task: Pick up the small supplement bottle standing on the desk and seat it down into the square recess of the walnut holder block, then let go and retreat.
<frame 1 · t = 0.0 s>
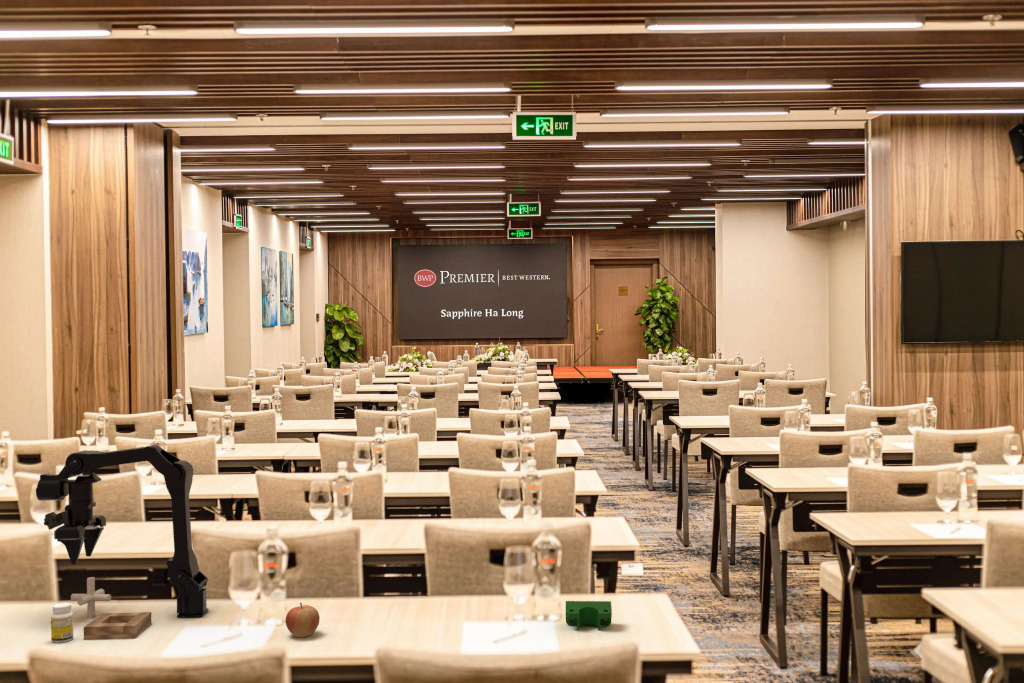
hand: (81, 560, 248), 15 cm above the table, fingers open, 9 cm apart
holder: (118, 631, 235), on the table
pipe connector: (91, 617, 248), on the table
clamp: (588, 628, 234), on the table
apple: (302, 636, 230), on the table
supplement bottle: (62, 641, 228), on the table
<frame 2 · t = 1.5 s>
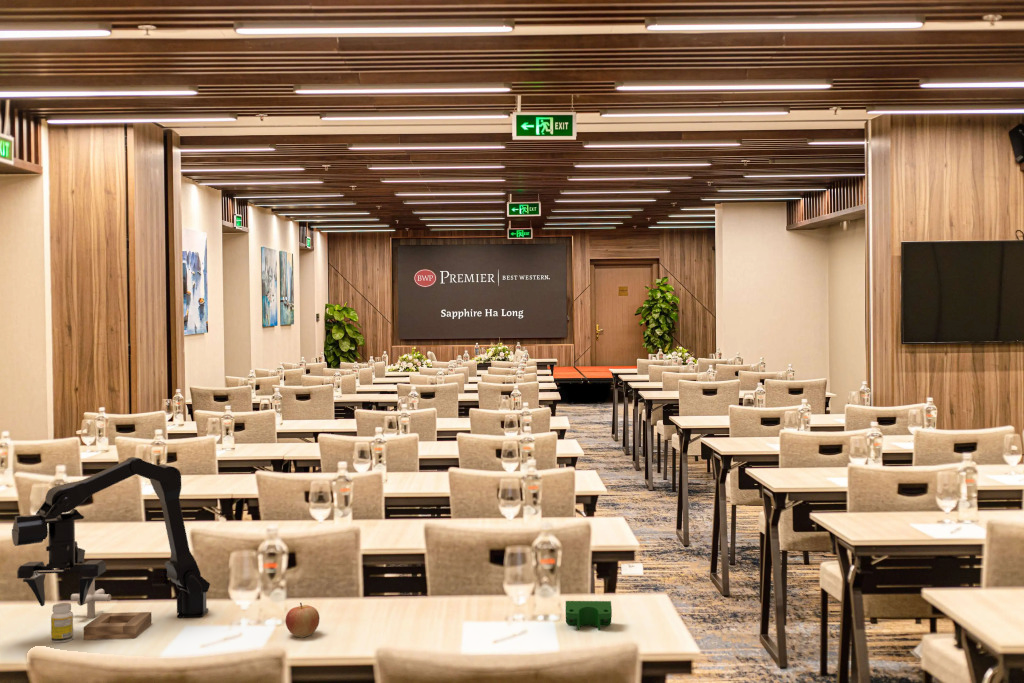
hand: (62, 605, 228), 8 cm above the table, fingers open, 9 cm apart
nothing on the table moved.
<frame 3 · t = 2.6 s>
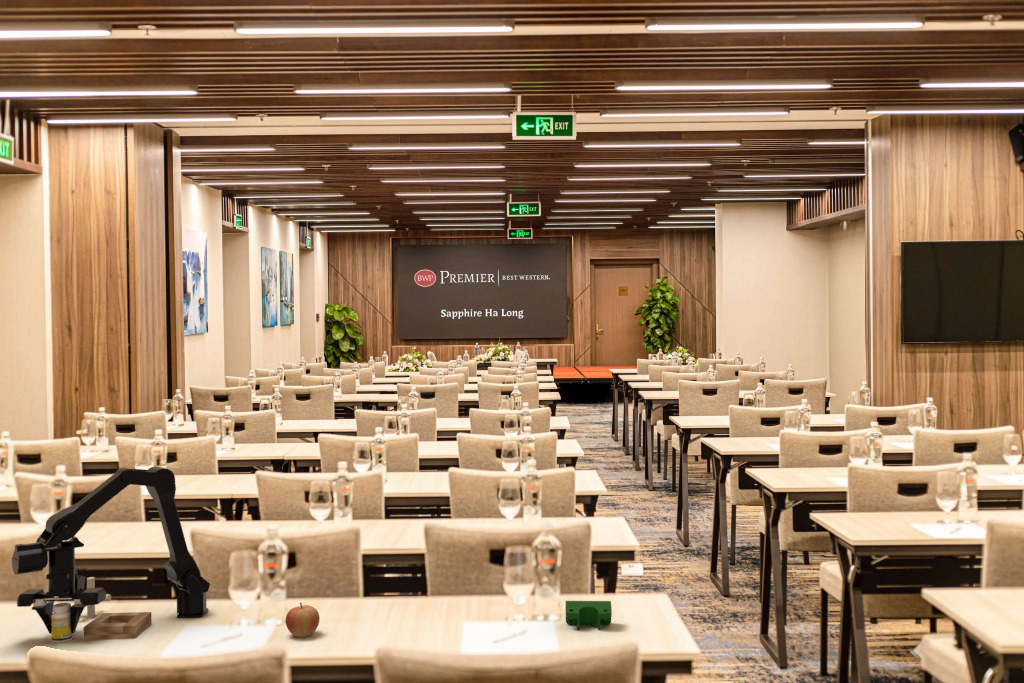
hand: (62, 633, 228), 2 cm above the table, fingers closed on supplement bottle, 5 cm apart
supplement bottle: (62, 641, 228), on the table, touching gripper
everything else where it was.
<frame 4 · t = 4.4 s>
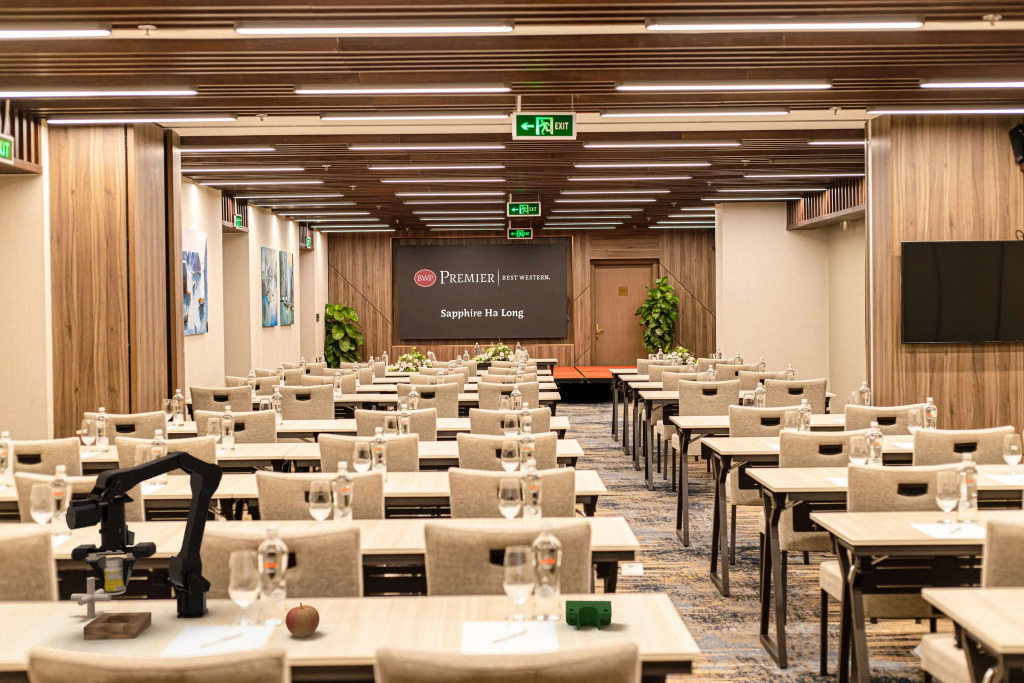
hand: (115, 586, 235), 11 cm above the table, fingers closed on supplement bottle, 5 cm apart
supplement bottle: (115, 593, 235), point 9 cm above the table, touching gripper
everything else where it was.
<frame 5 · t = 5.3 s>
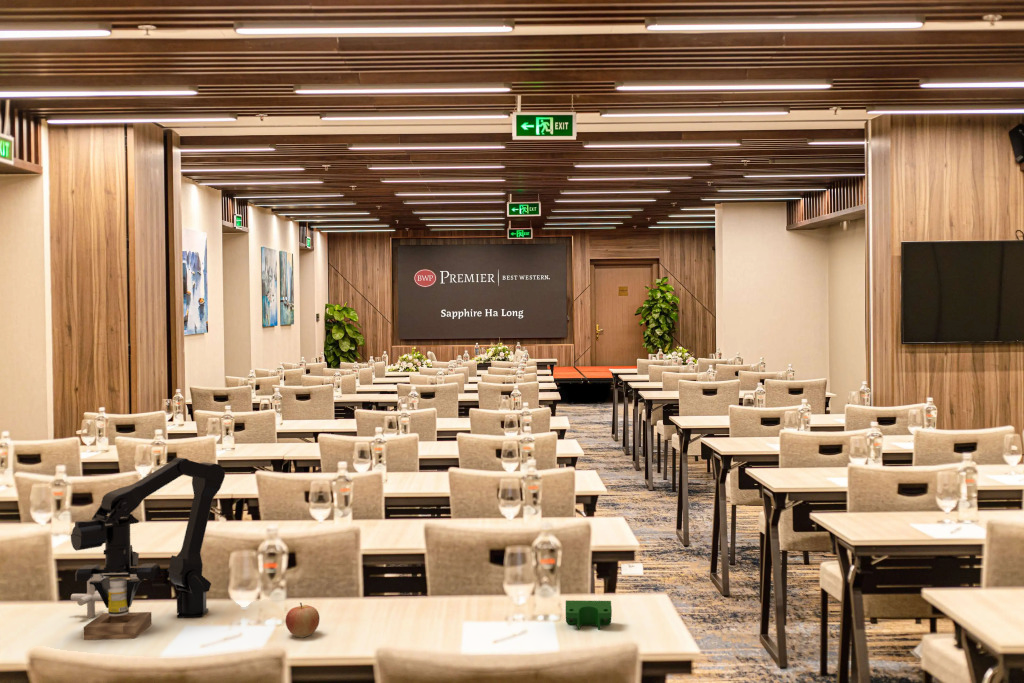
hand: (118, 607, 235), 6 cm above the table, fingers closed on supplement bottle, 5 cm apart
supplement bottle: (118, 614, 235), point 4 cm above the table, touching gripper
everything else where it was.
when the fingers open (4 cm above the table, at t = 6.0 s): supplement bottle drops 1 cm, resting on holder.
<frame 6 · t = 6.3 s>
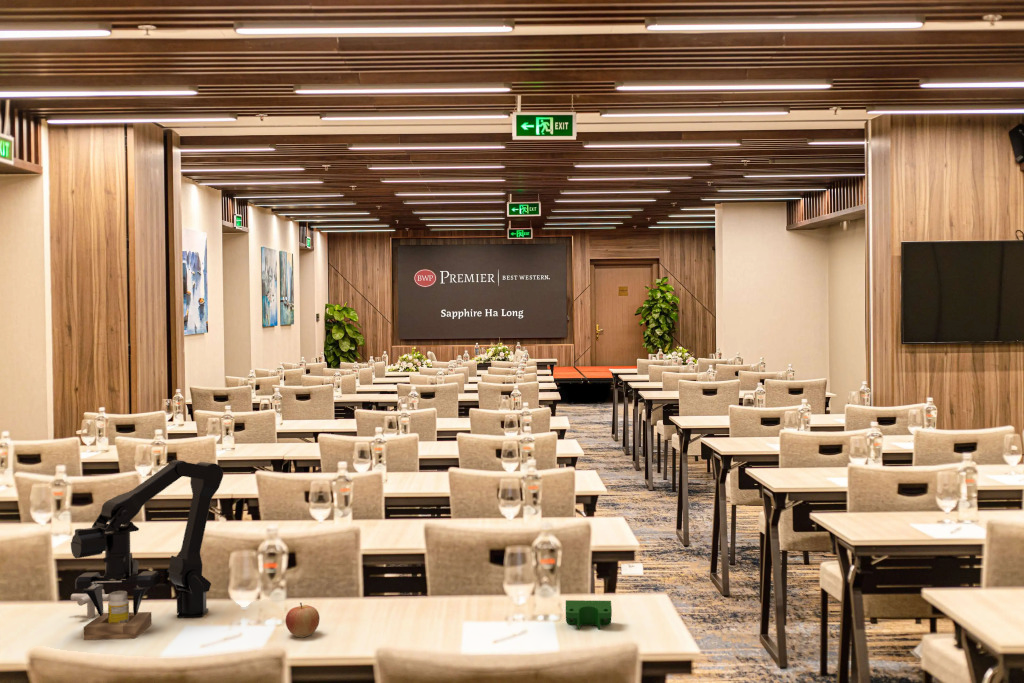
hand: (118, 615, 235), 4 cm above the table, fingers open, 8 cm apart
supplement bottle: (118, 627, 235), point 1 cm above the table, touching holder
everything else where it was.
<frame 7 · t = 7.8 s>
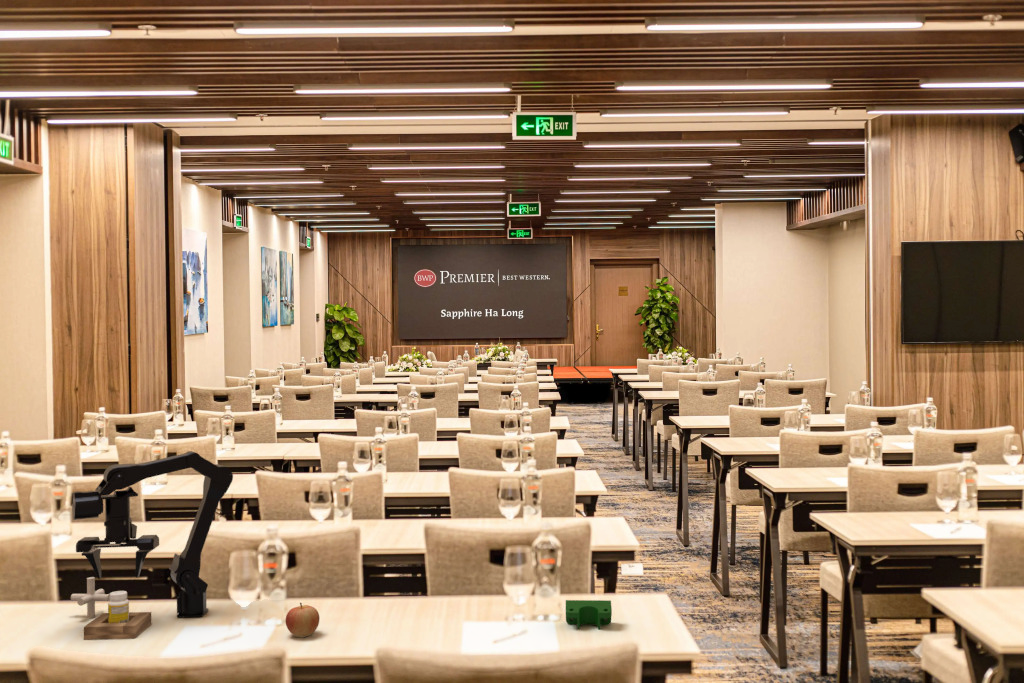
hand: (118, 577, 240), 12 cm above the table, fingers open, 9 cm apart
nothing on the table moved.
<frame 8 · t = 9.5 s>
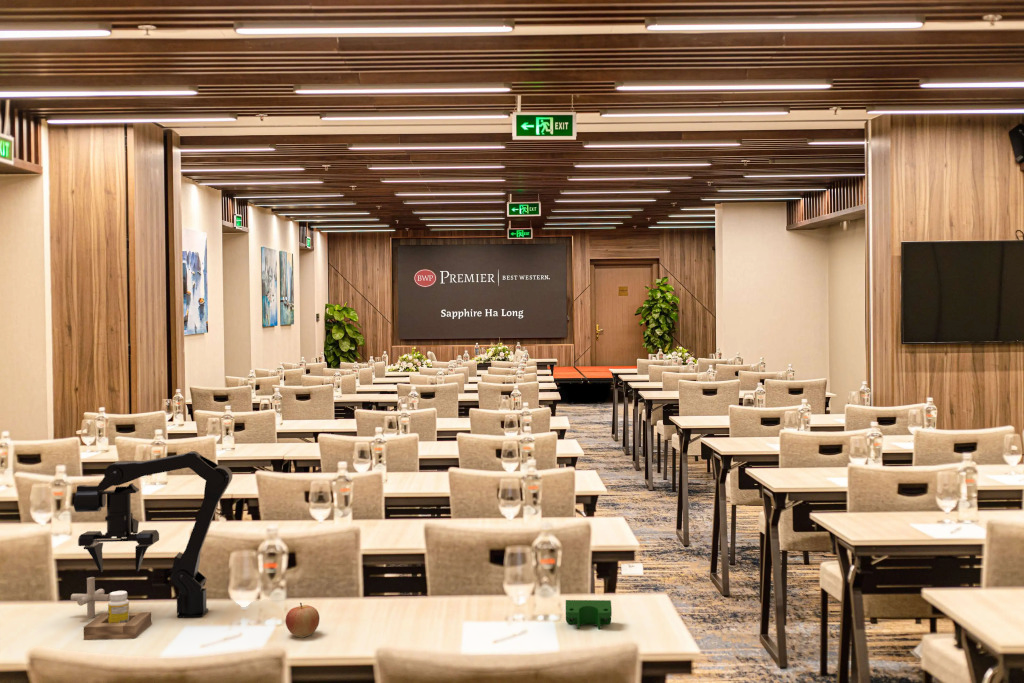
hand: (119, 571, 247), 12 cm above the table, fingers open, 9 cm apart
nothing on the table moved.
at the end: supplement bottle 0.1 cm off-centre on the holder, point 0.9 cm above the holder's base; supplement bottle tilted 0°; the gripper is holding nothing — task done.
